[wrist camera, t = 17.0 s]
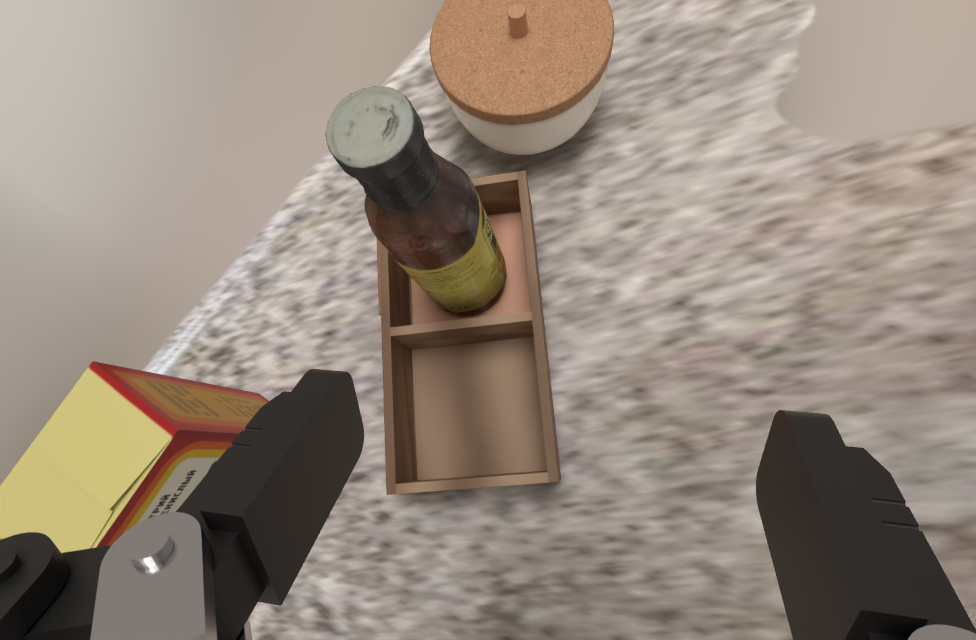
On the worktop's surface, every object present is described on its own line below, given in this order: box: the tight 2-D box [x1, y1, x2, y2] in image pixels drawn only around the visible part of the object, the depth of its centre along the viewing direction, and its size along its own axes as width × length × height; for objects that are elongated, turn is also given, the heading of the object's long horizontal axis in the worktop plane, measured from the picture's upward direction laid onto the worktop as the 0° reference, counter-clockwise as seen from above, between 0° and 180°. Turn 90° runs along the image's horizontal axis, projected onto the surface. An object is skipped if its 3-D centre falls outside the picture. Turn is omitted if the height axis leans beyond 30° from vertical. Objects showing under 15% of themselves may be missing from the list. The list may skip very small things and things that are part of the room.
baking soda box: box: [0, 361, 269, 553], centre depth 34 cm, size 10×6×16 cm
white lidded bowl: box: [430, 0, 614, 155], centre depth 40 cm, size 13×13×11 cm
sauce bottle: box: [326, 86, 507, 315], centre depth 32 cm, size 6×6×20 cm
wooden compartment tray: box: [377, 170, 561, 495], centre depth 39 cm, size 11×21×6 cm, turn 4°
